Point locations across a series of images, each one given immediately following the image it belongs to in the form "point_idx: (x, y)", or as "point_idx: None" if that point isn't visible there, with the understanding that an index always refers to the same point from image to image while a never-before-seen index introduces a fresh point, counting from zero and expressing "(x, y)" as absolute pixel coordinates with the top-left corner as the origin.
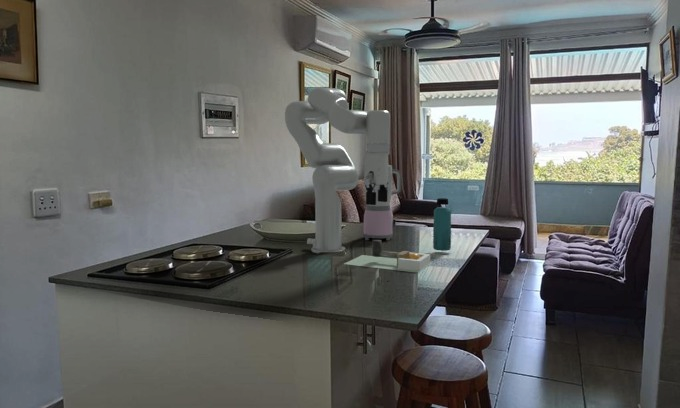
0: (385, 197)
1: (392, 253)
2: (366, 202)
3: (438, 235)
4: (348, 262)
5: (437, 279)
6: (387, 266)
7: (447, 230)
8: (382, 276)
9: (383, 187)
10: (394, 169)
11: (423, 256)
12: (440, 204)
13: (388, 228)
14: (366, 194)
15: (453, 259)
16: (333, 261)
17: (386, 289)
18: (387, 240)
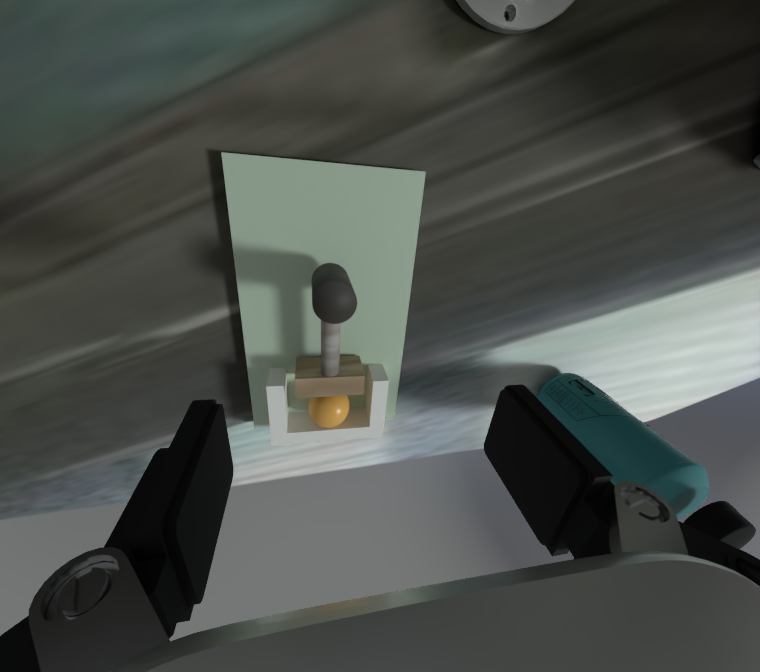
0: (503, 473)
1: (322, 351)
2: (189, 414)
3: (571, 421)
4: (260, 166)
5: (248, 463)
6: (279, 331)
7: None
8: (183, 344)
9: (594, 554)
10: None
11: (344, 432)
12: (685, 521)
13: None
14: (146, 498)
15: (478, 429)
16: (303, 52)
17: (45, 405)
18: (754, 161)
